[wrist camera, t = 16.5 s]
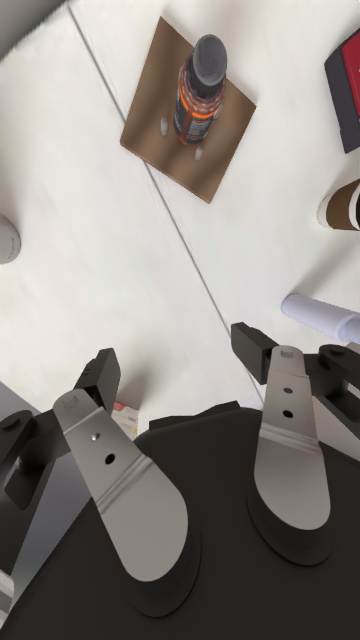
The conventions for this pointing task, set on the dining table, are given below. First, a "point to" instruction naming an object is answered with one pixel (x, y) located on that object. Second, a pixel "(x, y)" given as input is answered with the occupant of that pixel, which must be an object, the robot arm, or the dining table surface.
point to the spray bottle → (323, 317)
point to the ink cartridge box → (126, 419)
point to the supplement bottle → (200, 90)
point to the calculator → (346, 89)
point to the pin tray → (158, 113)
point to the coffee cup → (341, 208)
